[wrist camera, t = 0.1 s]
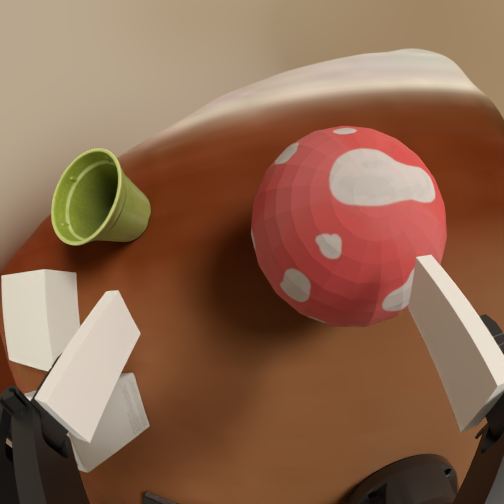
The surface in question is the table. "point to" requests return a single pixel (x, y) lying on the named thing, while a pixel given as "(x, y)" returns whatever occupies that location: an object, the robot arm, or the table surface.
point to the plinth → (39, 315)
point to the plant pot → (98, 202)
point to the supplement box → (111, 425)
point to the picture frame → (155, 499)
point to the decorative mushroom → (346, 225)
